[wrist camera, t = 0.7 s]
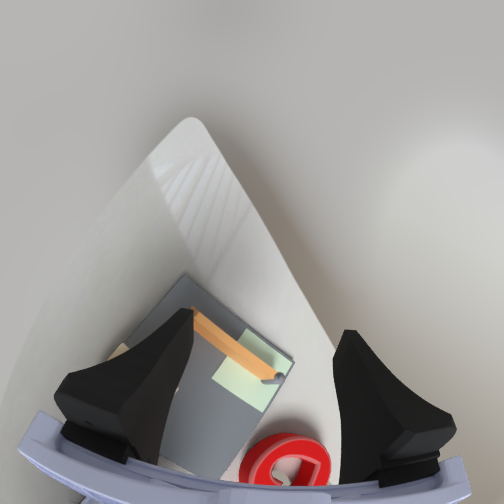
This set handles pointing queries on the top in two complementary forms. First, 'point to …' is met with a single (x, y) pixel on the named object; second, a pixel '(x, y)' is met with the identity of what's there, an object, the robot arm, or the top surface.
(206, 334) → the rail
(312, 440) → the decorative ornament
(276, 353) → the end pad
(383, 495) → the robot arm
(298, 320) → the top surface
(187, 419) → the mat
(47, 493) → the top surface
